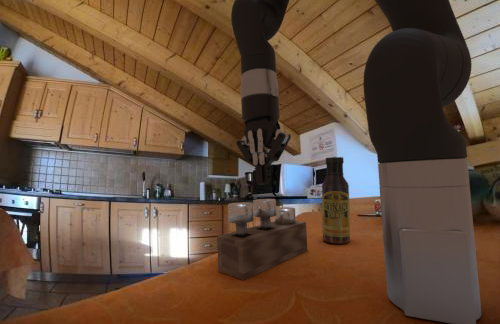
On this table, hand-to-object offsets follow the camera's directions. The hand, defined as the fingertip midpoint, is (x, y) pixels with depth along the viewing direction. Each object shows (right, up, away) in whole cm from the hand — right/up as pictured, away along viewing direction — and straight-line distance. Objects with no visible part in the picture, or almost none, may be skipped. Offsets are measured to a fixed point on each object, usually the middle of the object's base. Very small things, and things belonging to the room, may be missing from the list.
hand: (263, 184), depth 49 cm
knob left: (-4, -10, -5) cm, 12 cm away
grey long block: (+1, -15, -1) cm, 15 cm away
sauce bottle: (+18, -15, +10) cm, 25 cm away
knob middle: (0, -10, -1) cm, 10 cm away
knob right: (+5, -13, +4) cm, 14 cm away
